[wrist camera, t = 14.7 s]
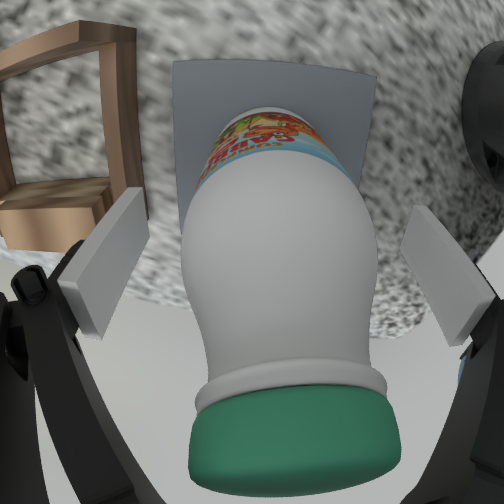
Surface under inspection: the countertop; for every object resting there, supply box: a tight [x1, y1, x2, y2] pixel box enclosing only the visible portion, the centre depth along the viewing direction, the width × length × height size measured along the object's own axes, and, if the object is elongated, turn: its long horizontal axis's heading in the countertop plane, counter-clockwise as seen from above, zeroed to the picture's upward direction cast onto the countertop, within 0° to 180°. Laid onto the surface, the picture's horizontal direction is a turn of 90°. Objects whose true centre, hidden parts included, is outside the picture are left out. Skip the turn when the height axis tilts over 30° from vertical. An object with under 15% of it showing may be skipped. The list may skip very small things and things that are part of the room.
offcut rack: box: [0, 20, 149, 253], centre depth 17 cm, size 16×16×8 cm
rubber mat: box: [173, 60, 377, 235], centre depth 21 cm, size 14×14×1 cm
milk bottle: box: [181, 107, 401, 497], centre depth 13 cm, size 8×8×20 cm
